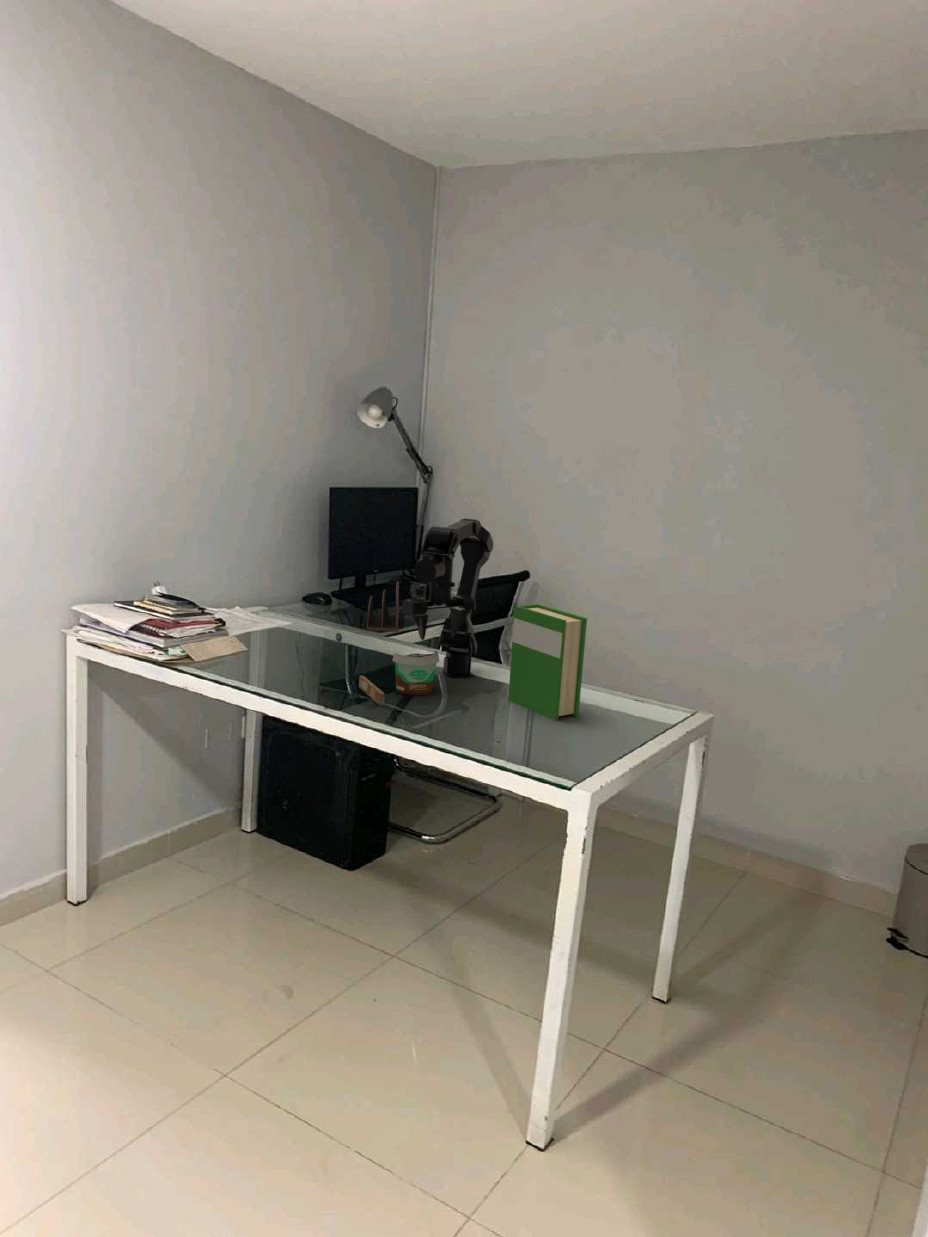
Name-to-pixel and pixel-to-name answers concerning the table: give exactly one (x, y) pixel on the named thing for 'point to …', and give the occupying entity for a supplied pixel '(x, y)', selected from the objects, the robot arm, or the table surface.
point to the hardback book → (547, 660)
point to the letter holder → (383, 616)
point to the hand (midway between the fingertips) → (437, 638)
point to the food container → (415, 673)
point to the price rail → (371, 690)
